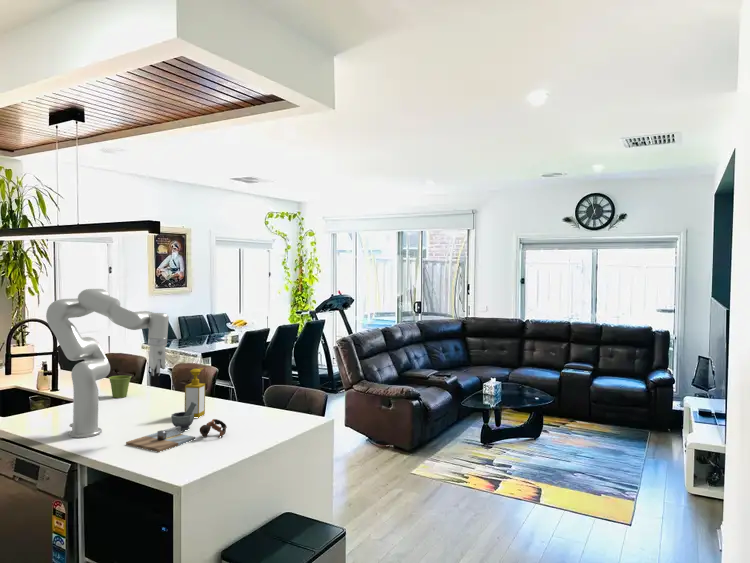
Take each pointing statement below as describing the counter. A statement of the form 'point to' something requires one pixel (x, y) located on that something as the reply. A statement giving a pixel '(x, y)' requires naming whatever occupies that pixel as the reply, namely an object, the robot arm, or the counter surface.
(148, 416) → the counter surface
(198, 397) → the white and gold bottle
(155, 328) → the robot arm
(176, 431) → the bar
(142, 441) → the latch board
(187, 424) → the mortar and pestle
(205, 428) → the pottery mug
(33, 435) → the counter surface
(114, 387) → the plant pot
